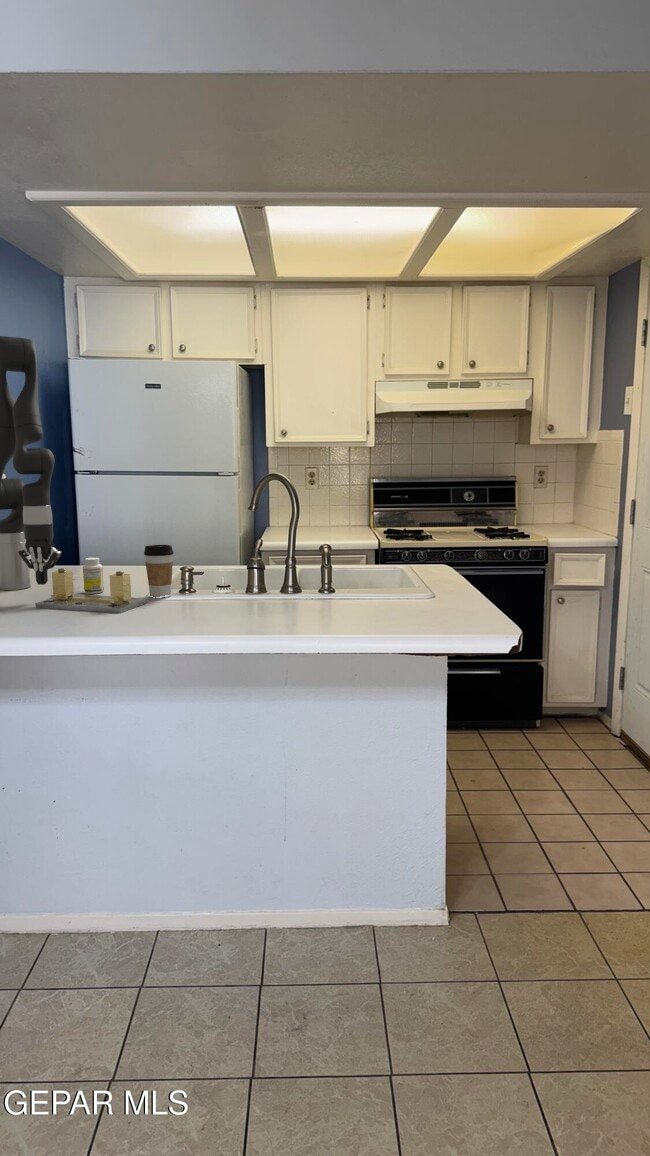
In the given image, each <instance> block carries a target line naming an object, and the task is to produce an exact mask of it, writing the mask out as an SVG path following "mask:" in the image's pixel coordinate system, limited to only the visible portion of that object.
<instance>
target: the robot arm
mask: <svg viewBox="0 0 650 1156" xmlns="http://www.w3.org/2000/svg"><path fill="white" fill-rule="evenodd" d="M38 368H39V367H38V353H37V348H36V345H35V343H34V342H33V340H31V339H30V338H24V337H17V336H16V337H15V336H6V335H5V336H4V335H0V511H2V510H3V511H4V510H11V512H10V513H9V515H8V516H6V517H4V518H3V519H1V520H0V590H4V591H5V590H6V591H15V590H25V589H27V588H31V573H30V572H31V571H30V570H31V569H32V570H34V572H35V581H36V583H37V585H38V586H39V585H42V586H43V585H46V584H47V582H48V581H49V580H48V579H49V578H48V577H49V576H48V571H49V570H50V569H53V568H54V567H55V566H56V564H57V563H58V561H59V559H60V558H61V556H62V555H63V552H62V551H61V550H57V548H55V544H54V542H53V539H54V523H53V511H52V507H51V490H50V489H51V488H50V487H51V481H52V478H53V477H52V476H53V472H54V468H55V459H56V458H55V455H54V454H53V452H52V451H51V450H50V449H49V448H45V447H41V448H40V447H36V448H35V447H31V448H30V447H27V446H28V445H31V444H35V443H39V442H40V441H41V440H42V439H43V438H44V431H43V425H42V421H41V420H42V418H41V413H40V405H39V372H38V371H39V369H38ZM7 372H12V373H24V376H25V378H24V385H23V387H22V388H21V391H20V393H19V395H18V396H17V398H15V397H14V395H13V393H12V391H11V388H10V387H9V384H8V380H7ZM11 459H12V465H13V469H14V470H15V471H16V473H18V474H19V475H22V476H25V475H26V476H27V475H29V476H31V475H40V476H39V478H38V479H37V481H35V482H31V483H26V484H25V482H24V481H23V480H22V479H21V478H3V475H4V472H5V469H6V467H7V465H8V464H9V462H10V461H11Z"/></svg>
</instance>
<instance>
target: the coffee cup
mask: <svg viewBox="0 0 650 1156" xmlns="http://www.w3.org/2000/svg"><path fill="white" fill-rule="evenodd" d="M174 554H175V553H174V549H173V547H172V545H171V544H151V545H150V544H149V545H145V546H144V552H143V556H145V563H144V564H145V568H146V569H145V570H146V575H147V576H146V577H147V582H148V591H149V596H153V597H160V596H165V595H170V594H171V595H172V583H173V581H172V580H173V565H174V561H173V555H174Z"/></svg>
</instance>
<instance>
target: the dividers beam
mask: <svg viewBox="0 0 650 1156" xmlns="http://www.w3.org/2000/svg"><path fill="white" fill-rule="evenodd" d="M124 572H125V571H123V570H122V571H121V570H119V571H117V570H116V571H115V573H114V574H110V575H109V587H110V588H109V591H110V596H111V598H110V599H102V598H86V597H70V596H67V597H68V599H66V600H78V601H94V602H110V603H111V605H115V603H126V604H130V603H133V600H127V599H130V598H131V597H132V591H131V590H132V589H131V587H132V585H131V573H124ZM63 600H65V599H63Z"/></svg>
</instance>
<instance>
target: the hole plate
mask: <svg viewBox="0 0 650 1156" xmlns="http://www.w3.org/2000/svg"><path fill="white" fill-rule="evenodd" d="M74 597H86V598H102V599H110V598H111V595H96V594H81V593H74ZM148 599H149V598H147V597H133V596H131V598H130V599H127V600H133V603H130V604H126V603H115V605H111V603H110V602H94V601H78V600H63V599H56V600H55V601H53V598H51V597H50V598H47V599H44V600H41V601H37V602H35V603H34V606H35V608H37V609H39V608H40V609H55V610H69V611H70V610H71V611H81V612H82V611H84V612H98V613H100V612H101V613H114V614H122V613H124V612H127V611H129V610H133V609H135V608H138V607H140V606H142V605H145V604H149V600H148Z"/></svg>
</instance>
